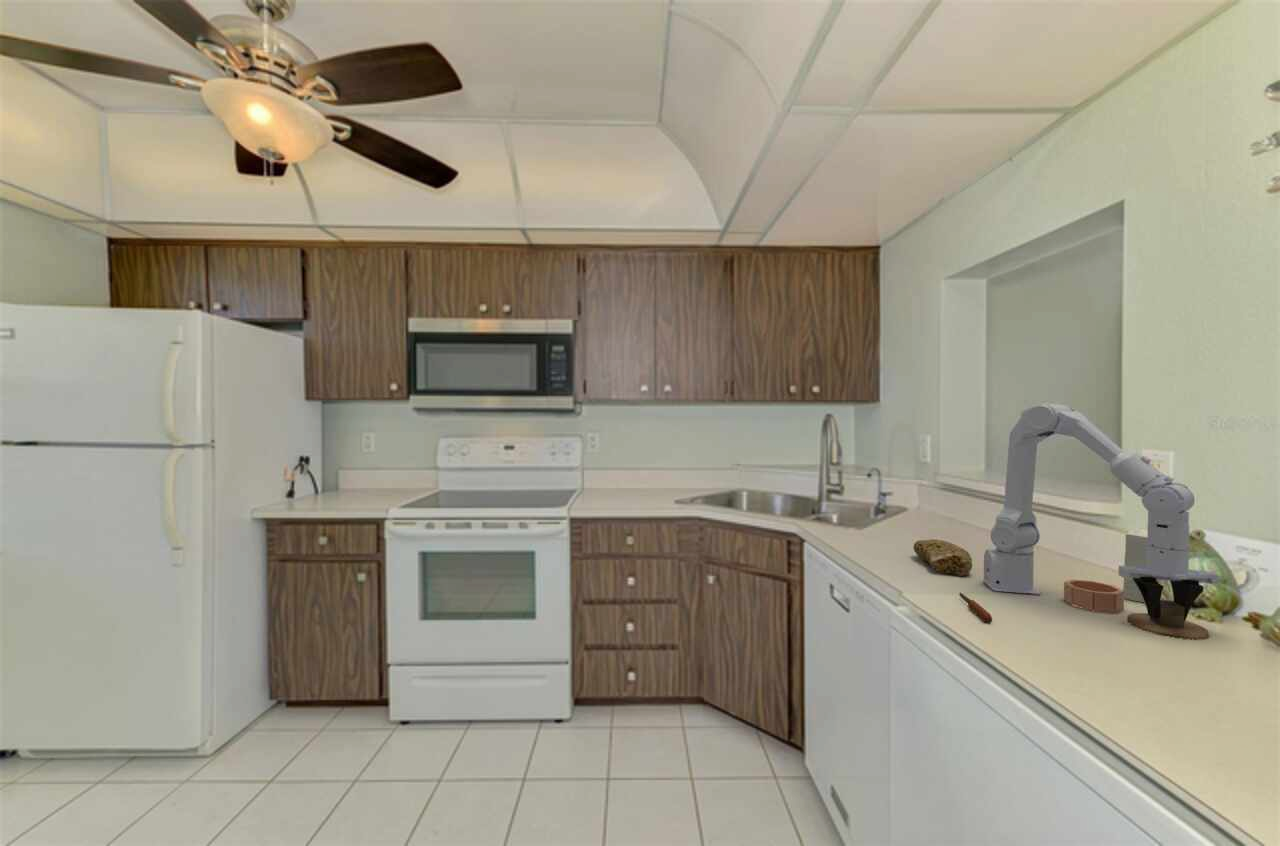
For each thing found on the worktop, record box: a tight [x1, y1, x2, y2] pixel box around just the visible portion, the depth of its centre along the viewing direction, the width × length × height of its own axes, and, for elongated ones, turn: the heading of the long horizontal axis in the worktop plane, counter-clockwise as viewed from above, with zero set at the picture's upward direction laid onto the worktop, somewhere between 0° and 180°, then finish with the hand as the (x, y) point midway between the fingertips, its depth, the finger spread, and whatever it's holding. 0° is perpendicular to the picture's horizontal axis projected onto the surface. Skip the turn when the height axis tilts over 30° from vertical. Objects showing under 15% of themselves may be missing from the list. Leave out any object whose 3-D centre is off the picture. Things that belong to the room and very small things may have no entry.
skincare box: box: [1122, 528, 1164, 604], centre depth 121 cm, size 8×6×15 cm
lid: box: [1126, 599, 1210, 641], centre depth 104 cm, size 11×11×5 cm
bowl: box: [1063, 579, 1125, 614], centre depth 117 cm, size 9×9×4 cm
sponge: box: [913, 538, 973, 577], centre depth 147 cm, size 13×8×20 cm
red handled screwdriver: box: [958, 592, 993, 624], centre depth 114 cm, size 16×1×2 cm, turn 168°
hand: (1166, 617), depth 104 cm, fingers closed on lid, 3 cm apart
